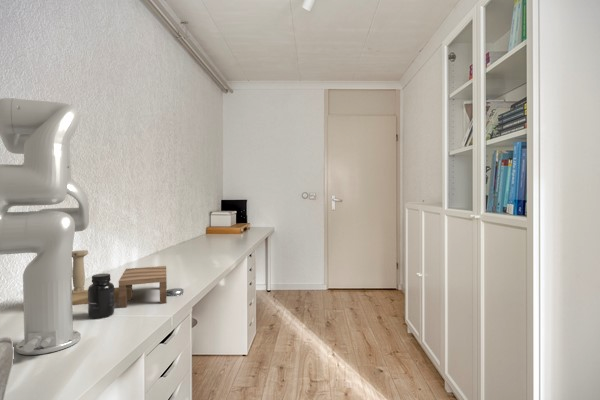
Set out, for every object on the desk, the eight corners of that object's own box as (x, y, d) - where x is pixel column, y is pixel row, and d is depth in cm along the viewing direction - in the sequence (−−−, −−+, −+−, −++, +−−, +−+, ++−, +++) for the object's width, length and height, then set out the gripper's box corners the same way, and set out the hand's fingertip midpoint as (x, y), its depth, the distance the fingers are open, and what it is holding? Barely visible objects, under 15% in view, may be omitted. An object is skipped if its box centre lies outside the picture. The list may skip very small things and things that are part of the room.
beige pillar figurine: (85, 292, 136) (84, 251, 136) (66, 293, 135) (65, 252, 135) (90, 289, 141) (90, 250, 141) (72, 290, 140) (72, 250, 140)
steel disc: (184, 295, 130) (184, 291, 130) (166, 297, 128) (166, 293, 128) (182, 291, 136) (182, 287, 136) (165, 293, 133) (165, 289, 133)
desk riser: (166, 303, 120) (165, 277, 120) (119, 308, 116) (118, 281, 116) (166, 287, 141) (166, 265, 141) (126, 291, 136) (126, 268, 136)
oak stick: (130, 299, 125) (130, 287, 125) (46, 307, 118) (46, 295, 118) (131, 297, 128) (131, 286, 128) (49, 305, 120) (49, 293, 120)
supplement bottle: (85, 320, 105) (84, 278, 104) (91, 313, 111) (91, 273, 111) (111, 317, 106) (110, 276, 106) (116, 310, 113) (116, 271, 113)
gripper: (65, 248, 113) (66, 308, 113) (78, 243, 129) (79, 295, 129) (36, 250, 111) (38, 311, 111) (53, 244, 126) (54, 297, 126)
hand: (60, 302), depth 120 cm, fingers closed on oak stick, 2 cm apart
